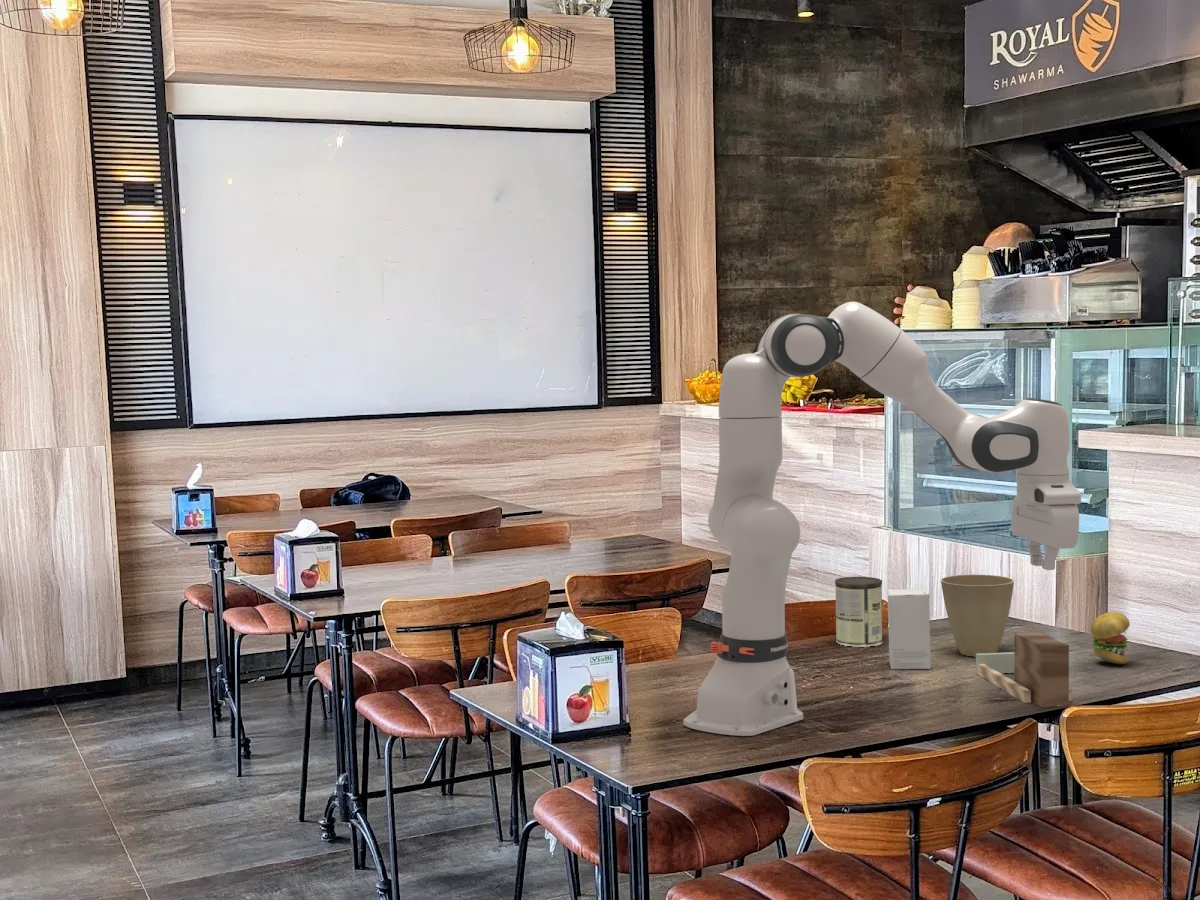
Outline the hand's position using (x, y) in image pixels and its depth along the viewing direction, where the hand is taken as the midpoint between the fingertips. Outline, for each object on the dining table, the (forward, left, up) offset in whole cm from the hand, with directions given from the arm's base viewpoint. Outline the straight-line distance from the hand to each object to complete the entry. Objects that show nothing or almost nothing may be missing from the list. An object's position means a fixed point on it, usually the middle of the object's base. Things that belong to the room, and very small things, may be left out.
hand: (1042, 567), depth 231 cm
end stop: (+21, +15, -25) cm, 36 cm away
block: (+6, +2, -25) cm, 26 cm away
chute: (+12, +7, -25) cm, 29 cm away
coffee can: (+34, +50, -25) cm, 66 cm away
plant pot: (+36, +24, -25) cm, 50 cm away
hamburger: (+40, -2, -25) cm, 47 cm away
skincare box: (+18, +32, -25) cm, 45 cm away
